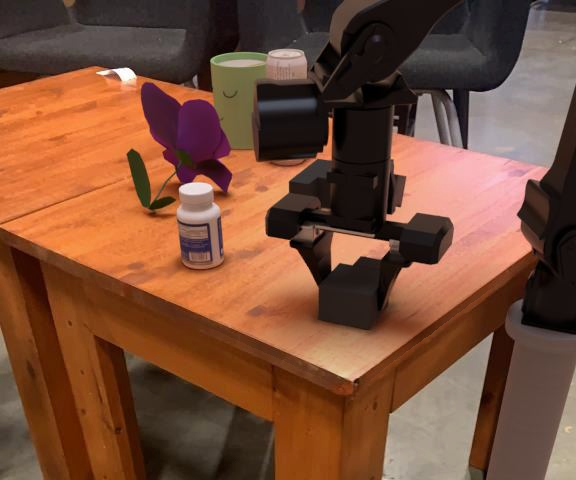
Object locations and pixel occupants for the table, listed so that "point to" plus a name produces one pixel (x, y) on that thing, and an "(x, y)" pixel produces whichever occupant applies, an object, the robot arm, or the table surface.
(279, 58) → the beer can
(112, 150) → the table surface
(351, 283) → the black block
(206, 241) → the pill bottle
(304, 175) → the black notched block
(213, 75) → the mug
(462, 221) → the table surface
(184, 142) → the flower
